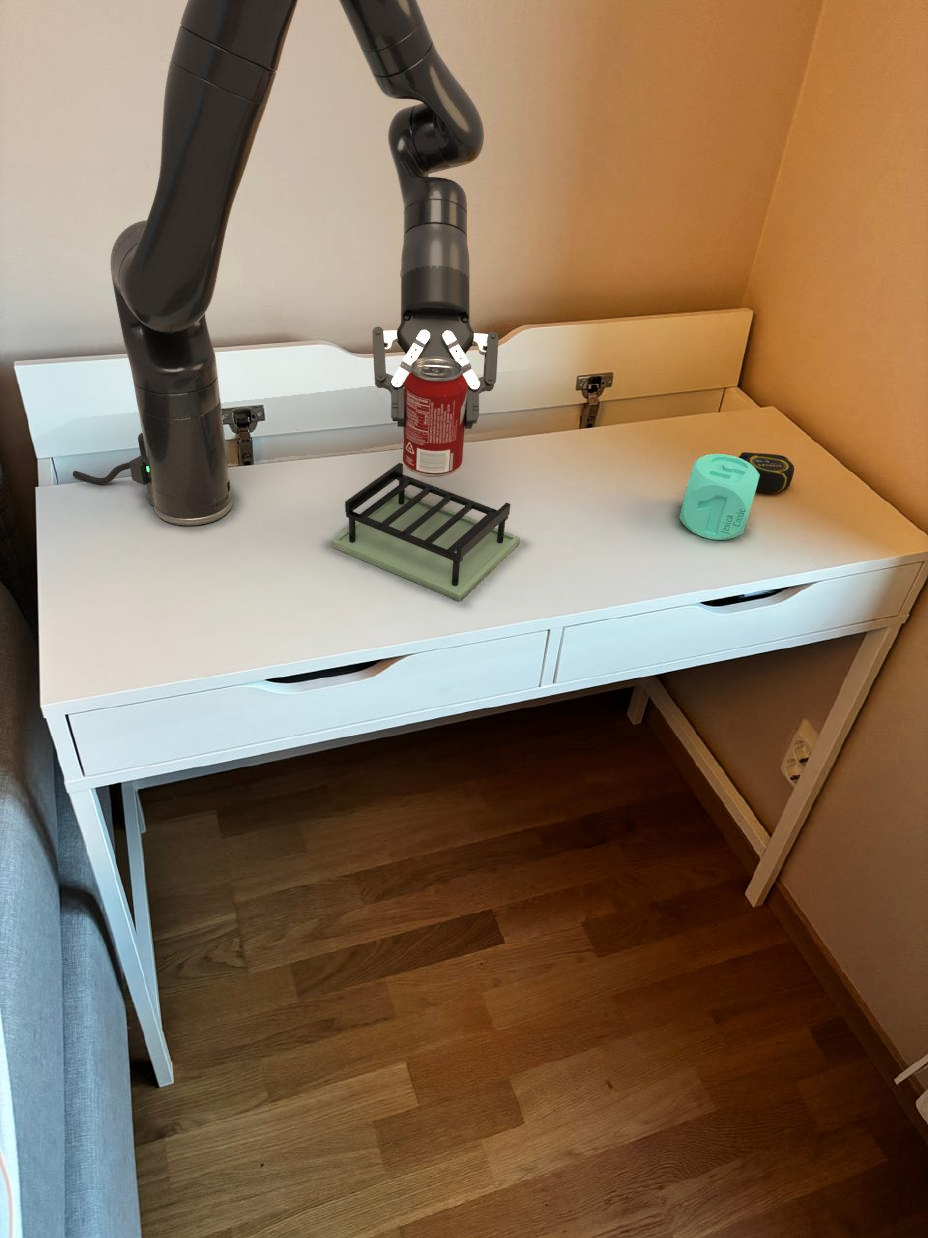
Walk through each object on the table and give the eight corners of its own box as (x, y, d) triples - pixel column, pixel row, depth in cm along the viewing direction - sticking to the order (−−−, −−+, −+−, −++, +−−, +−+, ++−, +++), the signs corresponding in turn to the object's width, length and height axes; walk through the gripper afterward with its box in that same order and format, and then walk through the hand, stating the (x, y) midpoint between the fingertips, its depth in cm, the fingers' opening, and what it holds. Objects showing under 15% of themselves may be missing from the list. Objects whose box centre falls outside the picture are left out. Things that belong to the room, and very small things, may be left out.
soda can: (454, 485, 104) (461, 385, 96) (395, 475, 105) (397, 375, 97) (467, 456, 109) (474, 358, 101) (410, 446, 110) (413, 349, 102)
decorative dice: (675, 531, 119) (689, 476, 114) (686, 500, 125) (699, 447, 120) (738, 547, 117) (755, 492, 112) (746, 515, 123) (763, 461, 118)
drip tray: (331, 547, 112) (331, 540, 111) (397, 496, 122) (397, 489, 121) (459, 602, 105) (460, 595, 105) (519, 544, 115) (520, 537, 114)
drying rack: (345, 540, 112) (344, 501, 109) (398, 499, 120) (399, 462, 116) (458, 588, 106) (461, 548, 103) (506, 542, 114) (510, 503, 111)
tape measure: (782, 474, 132) (789, 451, 130) (792, 500, 127) (801, 476, 125) (733, 470, 132) (740, 446, 130) (742, 496, 127) (749, 472, 125)
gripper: (369, 259, 99) (368, 413, 98) (504, 265, 100) (505, 417, 99) (370, 290, 107) (368, 434, 105) (495, 295, 108) (496, 437, 106)
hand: (435, 425), depth 102 cm, fingers closed on soda can, 7 cm apart
